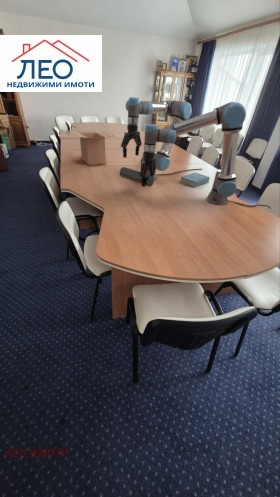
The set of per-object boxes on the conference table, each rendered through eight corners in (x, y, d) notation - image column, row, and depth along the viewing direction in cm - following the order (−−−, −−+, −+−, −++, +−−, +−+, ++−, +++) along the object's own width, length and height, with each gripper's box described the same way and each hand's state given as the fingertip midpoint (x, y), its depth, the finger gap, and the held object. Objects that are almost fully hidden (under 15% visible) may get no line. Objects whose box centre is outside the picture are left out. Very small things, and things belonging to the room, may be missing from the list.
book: (194, 177, 213) (195, 172, 210) (208, 182, 204) (209, 177, 201) (179, 182, 200) (180, 176, 197) (194, 187, 191) (195, 182, 188)
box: (116, 165, 229) (116, 136, 213) (83, 168, 214) (80, 137, 198) (102, 154, 259) (101, 128, 243) (71, 156, 244) (68, 129, 228)
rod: (119, 178, 167) (119, 167, 163) (126, 176, 172) (126, 165, 168) (147, 188, 155) (147, 177, 150) (153, 185, 160) (154, 174, 155)
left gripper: (124, 125, 143) (123, 159, 156) (148, 124, 160) (145, 155, 172) (116, 123, 147) (115, 157, 159) (140, 123, 163) (137, 153, 176)
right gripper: (144, 154, 136) (141, 190, 150) (163, 150, 150) (159, 182, 163) (135, 152, 140) (133, 187, 154) (154, 147, 153) (151, 180, 167)
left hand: (130, 156), depth 166 cm, fingers open, 13 cm apart
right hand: (146, 184), depth 158 cm, fingers closed on rod, 8 cm apart
